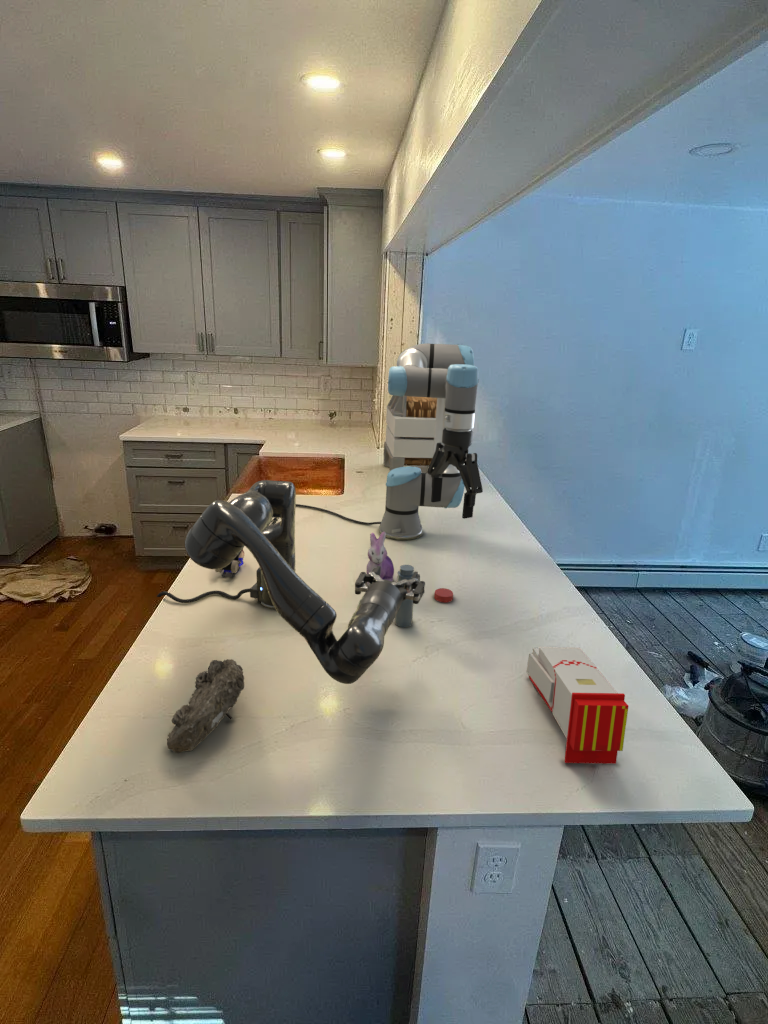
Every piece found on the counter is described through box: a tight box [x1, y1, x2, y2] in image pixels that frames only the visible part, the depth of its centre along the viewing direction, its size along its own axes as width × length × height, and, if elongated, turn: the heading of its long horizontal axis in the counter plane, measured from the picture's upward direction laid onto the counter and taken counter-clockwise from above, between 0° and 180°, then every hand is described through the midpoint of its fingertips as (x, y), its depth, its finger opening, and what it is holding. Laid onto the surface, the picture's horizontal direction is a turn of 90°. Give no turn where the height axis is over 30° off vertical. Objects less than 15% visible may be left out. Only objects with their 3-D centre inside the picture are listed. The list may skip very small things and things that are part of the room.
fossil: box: [166, 658, 245, 754], centre depth 106 cm, size 22×10×15 cm
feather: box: [271, 517, 278, 525], centre depth 212 cm, size 2×28×2 cm
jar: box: [394, 564, 415, 628], centre depth 141 cm, size 4×4×15 cm
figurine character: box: [214, 546, 245, 578], centre depth 166 cm, size 7×8×15 cm
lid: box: [433, 587, 454, 603], centre depth 156 cm, size 5×5×2 cm
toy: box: [526, 646, 629, 765], centre depth 112 cm, size 12×13×30 cm
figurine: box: [366, 532, 395, 586], centre depth 162 cm, size 9×10×15 cm
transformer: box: [383, 395, 437, 472], centre depth 268 cm, size 34×33×41 cm
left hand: (397, 572), depth 126 cm, fingers open, 8 cm apart
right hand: (450, 509), depth 148 cm, fingers open, 13 cm apart
